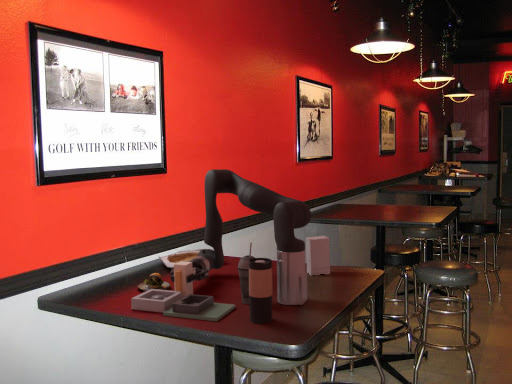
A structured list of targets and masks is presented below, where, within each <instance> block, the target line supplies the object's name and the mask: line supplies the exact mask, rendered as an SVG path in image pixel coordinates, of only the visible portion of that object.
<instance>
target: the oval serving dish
mask: <svg viewBox="0 0 512 384" xmlns="http://www.w3.org/2000/svg"><path fill="white" fill-rule="evenodd" d="M202 249H203V248H202ZM202 249H201V248H198V249H193V250H179V251H177V252H176V253H171V254H167V255H162V256H158V258H159V259H160V261H161V263H163V264H164V266H165V267H167V268H170V269H171V270H172V269H173V268H174V264H176V263H178V262H180V261H183V262H188V261H190V260H192V259H193V258H195V257H198V254H199V252H200V250H202ZM208 249H209V250H214V249H213V248H208Z"/></svg>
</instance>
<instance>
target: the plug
mask: <svg viewBox="0 0 512 384" xmlns="http://www.w3.org/2000/svg"><path fill="white" fill-rule="evenodd" d="M192 273H193V272H192V262H183V261H180V262H178V263H176V264H174V282H173V288H174V290H173V291H180V292H183V298H184V297H185V296H187V295H189V294H193V295H194V283H193V282H194V281H192V282H190V283H187V276H189V275H190V274H192Z"/></svg>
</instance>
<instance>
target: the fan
mask: <svg viewBox="0 0 512 384" xmlns="http://www.w3.org/2000/svg"><path fill="white" fill-rule="evenodd" d="M182 298H183V292H180V291H174V290H170V289H169V290H165V289H163V290H158V289H150V290H148V291H143V292H142V293H139V294H138V295H136V296H133V297H132V298H130V300H131V303H130V304H131V305H130V307H131V310H135V311H142V312H143V311H144V312H153V313H154V312H155V313H162V314H163V312H165V311H166V310H168V309H170V308H172V304H173V303H175V302H176V301H178V300H180V299H182Z"/></svg>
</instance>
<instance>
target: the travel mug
mask: <svg viewBox="0 0 512 384" xmlns="http://www.w3.org/2000/svg"><path fill="white" fill-rule="evenodd" d="M272 264H273V260H272V259H271V258H269V257H255V258H253V259H250V260H249V304H248V306H249V320H250V322H251V323H253V324H258V325H262V324H263V325H264V324H265V325H266V324H269V323H271V322H272V321H273V265H272Z"/></svg>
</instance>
